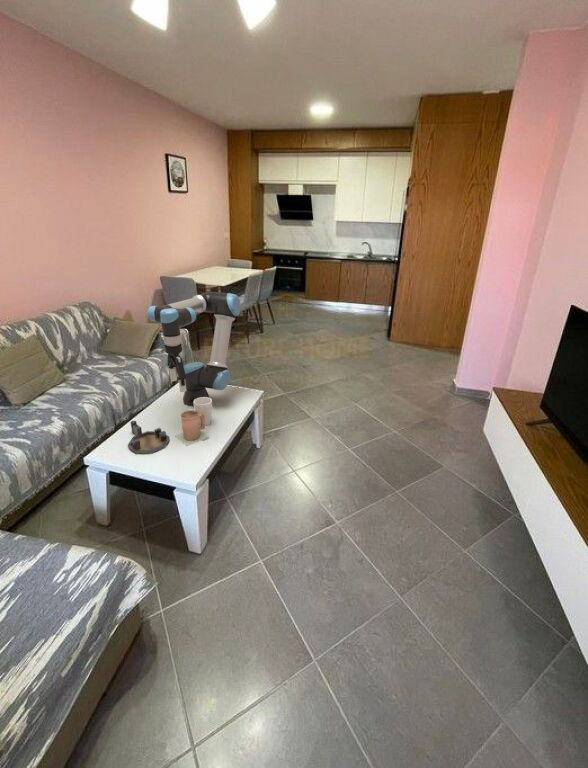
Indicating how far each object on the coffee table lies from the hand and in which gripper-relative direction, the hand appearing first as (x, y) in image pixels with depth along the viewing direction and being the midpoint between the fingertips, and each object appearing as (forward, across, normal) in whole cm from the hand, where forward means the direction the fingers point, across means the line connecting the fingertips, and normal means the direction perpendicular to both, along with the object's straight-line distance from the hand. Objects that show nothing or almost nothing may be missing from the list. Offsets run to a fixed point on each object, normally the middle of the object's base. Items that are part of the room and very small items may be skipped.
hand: (178, 386), depth 173 cm
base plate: (+24, +4, -18) cm, 31 cm away
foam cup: (+25, -2, +11) cm, 28 cm away
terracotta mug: (+24, +8, +2) cm, 26 cm away
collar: (+24, +1, -19) cm, 30 cm away
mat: (+25, +9, +1) cm, 26 cm away
